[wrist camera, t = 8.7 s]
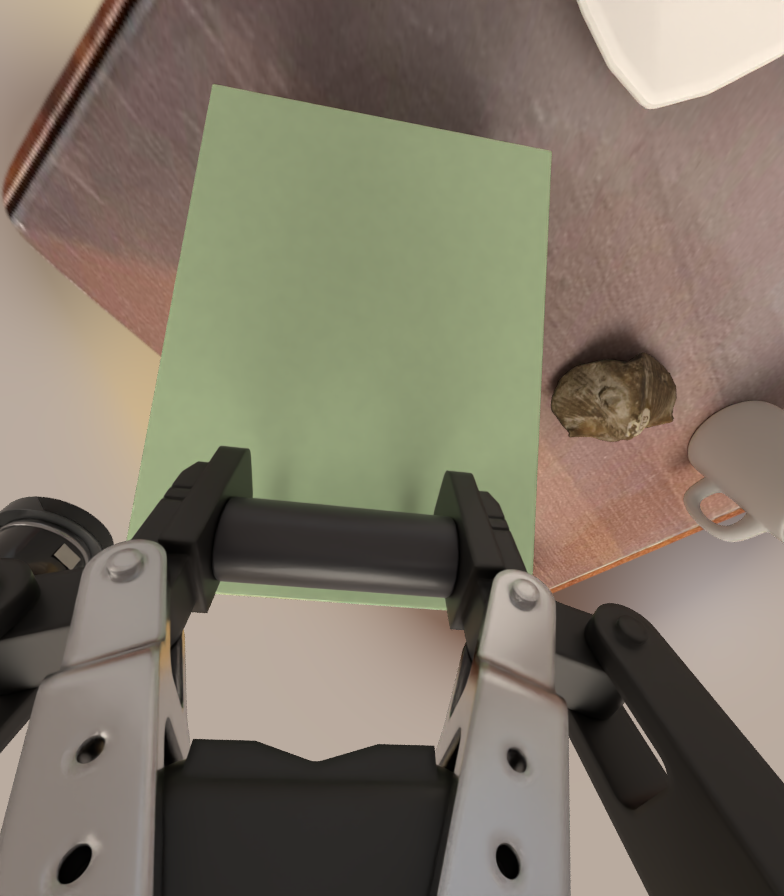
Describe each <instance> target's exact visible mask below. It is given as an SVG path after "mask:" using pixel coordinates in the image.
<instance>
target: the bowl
mask: <svg viewBox="0 0 784 896" xmlns="http://www.w3.org/2000/svg"><path fill="white" fill-rule="evenodd" d="M577 2H578V5H579V8H580V11H581V14H582V16H583V18H584V20H585V22H586V24H587V26H588V28H589V30H590V32H591V34H592V36H593V38H594V40H595V42H596V44H597V46H598V48H599V50H600V52H601V54H602V56H603V59H604V61H605V63H606V65H607V67H608V68H609V70H610V71H611V72H612V73H613V74H614V75H615V77H616V78H617V79H618V80H619V81H620V82H621V83H622V85H623V86H624V87H625V88H626V89H627V90H628V92H629V93H630V94H631V95H632V96H633V97H634V99H635V100H636V101H637V102H638V103H639V104H640V105H641V106H643V107H644V108H646V109H656V108H660V107H664V106H667V105H671V104H675V103H679V102H682V101H686V100H690V99H693V98H697V97H701V96H705V95H708V94H710V93H712V92H714V91H716V90H718V89H720V88H722V87H723V86H725V85H727V84H729V83H731V82H733V81H735V80H737V79H739V78H741V77H743V76H745V75H746V74H748V73H750V72H752V71H754V70H756V69H758V68H760V67H762V66H764V65H766V64H768V63H770V62H771V61H773V60H775V59H777V58H779V57H780V56H782V55H783V54H784V0H577Z"/></svg>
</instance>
